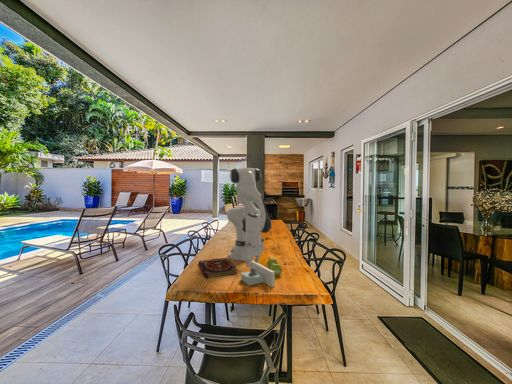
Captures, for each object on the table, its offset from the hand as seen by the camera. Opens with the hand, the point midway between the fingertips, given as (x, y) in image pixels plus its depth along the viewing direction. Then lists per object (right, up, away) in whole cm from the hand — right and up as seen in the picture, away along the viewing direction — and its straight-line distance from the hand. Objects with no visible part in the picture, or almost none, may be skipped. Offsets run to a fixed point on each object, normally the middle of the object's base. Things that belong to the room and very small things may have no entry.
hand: (252, 264), depth 148 cm
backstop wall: (+5, -10, +3) cm, 12 cm away
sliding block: (0, -10, 0) cm, 10 cm away
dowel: (0, -10, 0) cm, 10 cm away
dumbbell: (+14, -10, +16) cm, 23 cm away
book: (-24, -10, +22) cm, 34 cm away
